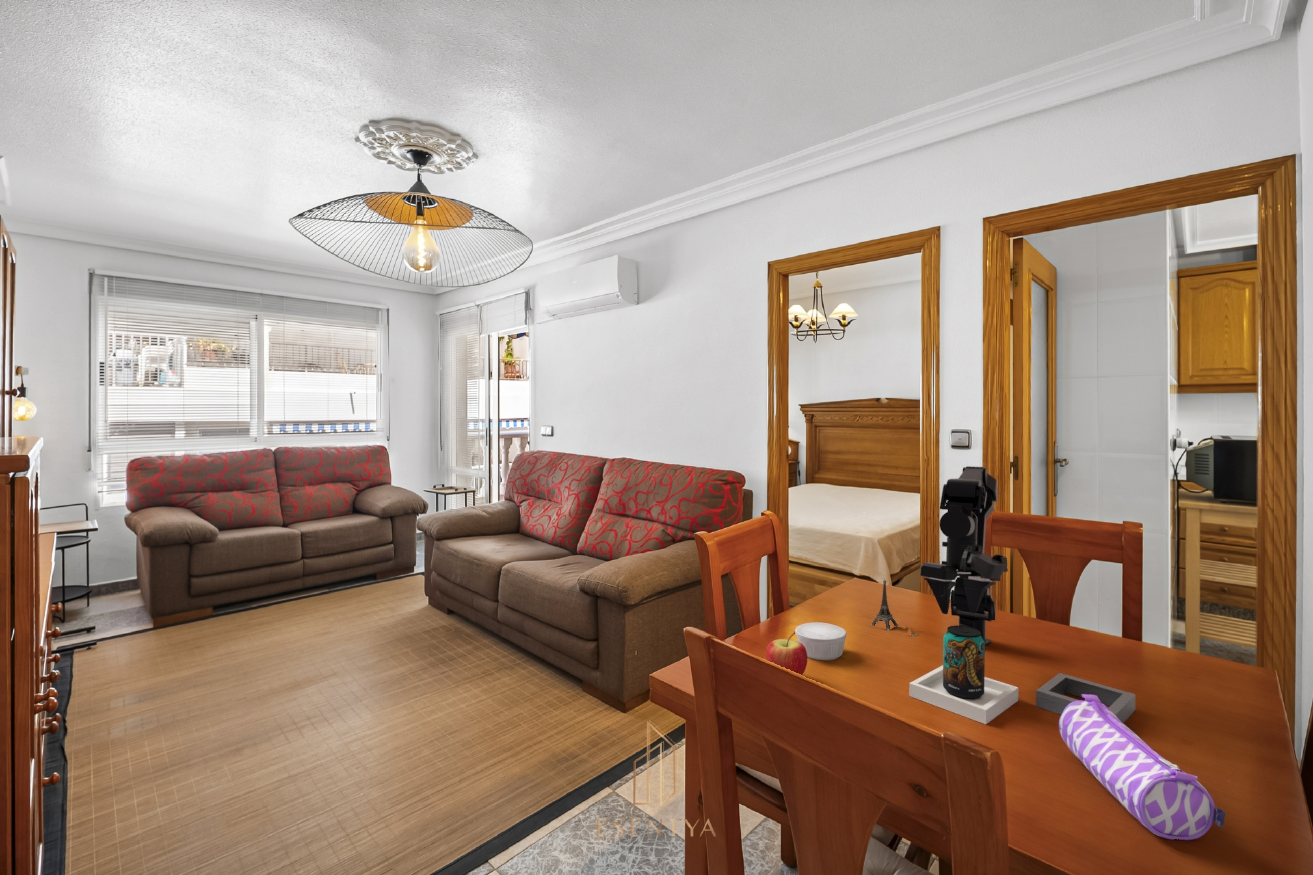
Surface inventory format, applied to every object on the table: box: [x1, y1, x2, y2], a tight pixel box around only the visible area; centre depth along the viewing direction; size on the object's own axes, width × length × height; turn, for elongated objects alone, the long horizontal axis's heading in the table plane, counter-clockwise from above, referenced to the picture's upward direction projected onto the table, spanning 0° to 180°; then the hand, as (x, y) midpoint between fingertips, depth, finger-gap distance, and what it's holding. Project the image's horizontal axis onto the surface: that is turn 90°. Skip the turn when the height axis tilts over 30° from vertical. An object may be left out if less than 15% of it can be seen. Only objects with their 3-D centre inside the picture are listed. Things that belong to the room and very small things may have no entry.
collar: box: [1035, 672, 1136, 724], centre depth 111 cm, size 12×12×3 cm
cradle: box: [908, 664, 1019, 725], centre depth 115 cm, size 14×14×2 cm
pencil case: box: [1058, 694, 1226, 841], centre depth 86 cm, size 22×9×10 cm, turn 174°
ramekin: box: [794, 621, 847, 661], centre depth 138 cm, size 11×11×5 cm
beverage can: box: [942, 624, 986, 700], centre depth 115 cm, size 7×7×12 cm
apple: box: [765, 631, 808, 676], centre depth 124 cm, size 8×8×10 cm
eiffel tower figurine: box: [870, 579, 917, 637], centre depth 155 cm, size 15×10×13 cm
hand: (959, 613), depth 127 cm, fingers open, 9 cm apart
